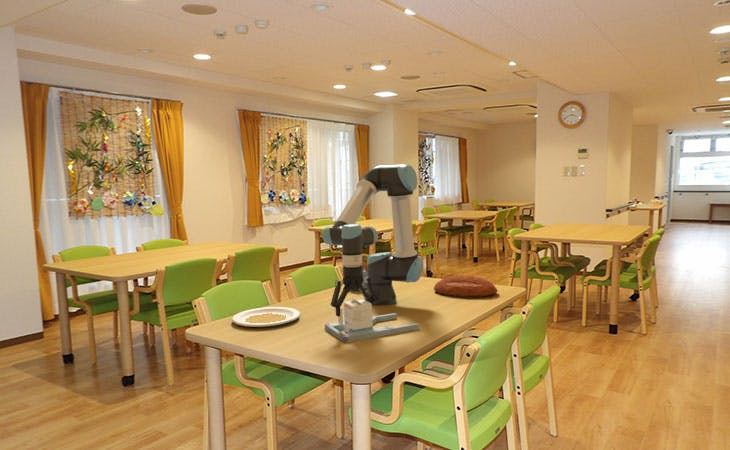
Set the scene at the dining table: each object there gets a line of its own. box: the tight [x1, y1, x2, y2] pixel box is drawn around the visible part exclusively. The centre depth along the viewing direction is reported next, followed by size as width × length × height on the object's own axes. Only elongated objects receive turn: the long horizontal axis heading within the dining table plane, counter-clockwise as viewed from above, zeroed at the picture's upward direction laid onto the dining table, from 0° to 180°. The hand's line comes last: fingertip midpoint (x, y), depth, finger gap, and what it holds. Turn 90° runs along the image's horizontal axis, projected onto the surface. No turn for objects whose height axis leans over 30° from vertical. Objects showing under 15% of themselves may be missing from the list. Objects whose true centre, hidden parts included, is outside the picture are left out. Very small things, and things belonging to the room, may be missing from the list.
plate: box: [232, 306, 301, 328], centre depth 214 cm, size 28×28×2 cm
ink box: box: [343, 297, 374, 333], centre depth 192 cm, size 9×8×13 cm
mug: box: [353, 269, 368, 291], centre depth 268 cm, size 15×11×10 cm
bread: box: [433, 275, 498, 298], centre depth 253 cm, size 23×32×9 cm
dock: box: [324, 312, 420, 344], centre depth 196 cm, size 19×32×2 cm, turn 116°
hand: (354, 322), depth 193 cm, fingers open, 11 cm apart
